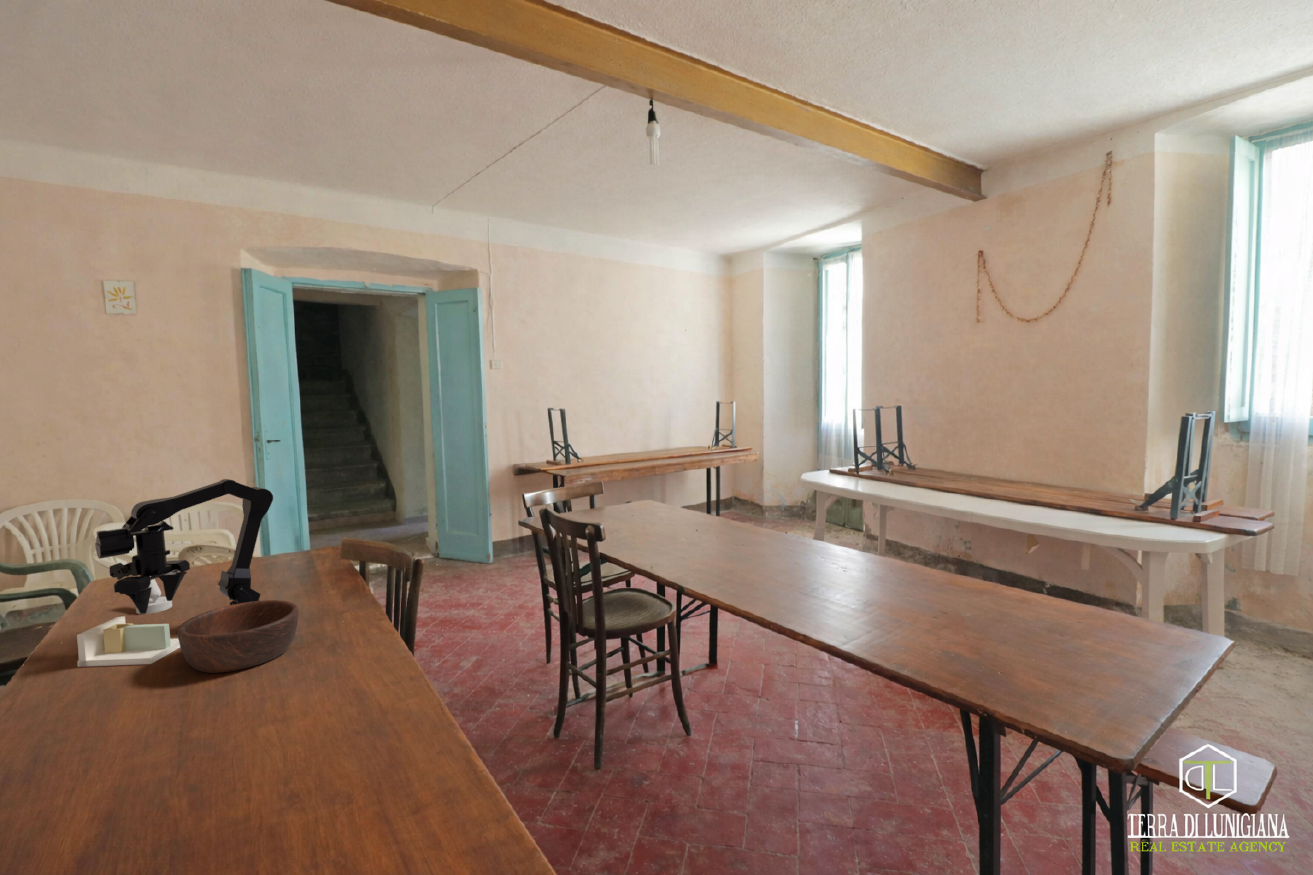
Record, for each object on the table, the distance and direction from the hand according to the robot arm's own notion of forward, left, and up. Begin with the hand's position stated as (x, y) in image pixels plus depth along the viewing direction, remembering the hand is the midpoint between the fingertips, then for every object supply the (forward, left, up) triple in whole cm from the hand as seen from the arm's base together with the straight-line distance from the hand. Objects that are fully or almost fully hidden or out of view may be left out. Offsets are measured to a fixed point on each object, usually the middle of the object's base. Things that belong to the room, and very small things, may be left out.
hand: (156, 606), depth 156 cm
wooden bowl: (-27, +9, -11) cm, 30 cm away
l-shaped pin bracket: (+2, +6, -10) cm, 12 cm away
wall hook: (+23, -29, -11) cm, 38 cm away
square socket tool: (0, +6, -9) cm, 11 cm away
